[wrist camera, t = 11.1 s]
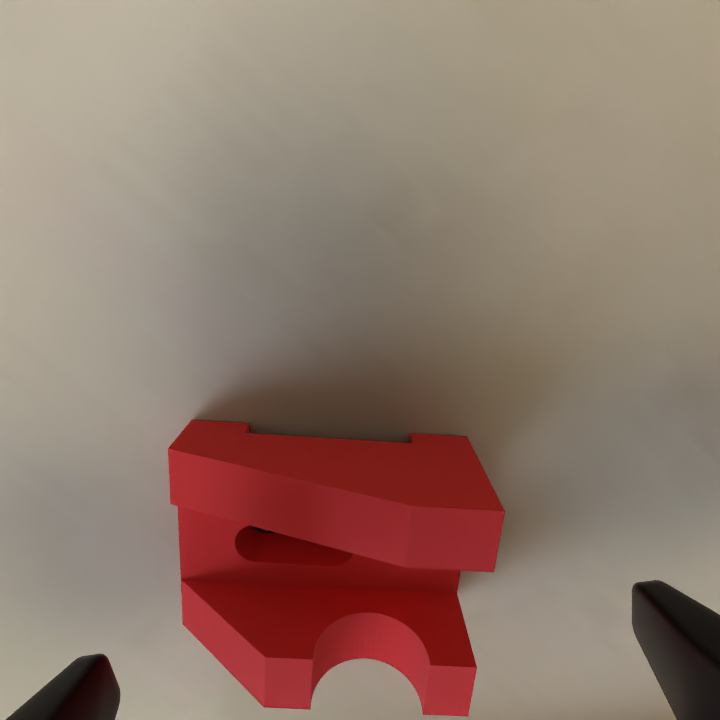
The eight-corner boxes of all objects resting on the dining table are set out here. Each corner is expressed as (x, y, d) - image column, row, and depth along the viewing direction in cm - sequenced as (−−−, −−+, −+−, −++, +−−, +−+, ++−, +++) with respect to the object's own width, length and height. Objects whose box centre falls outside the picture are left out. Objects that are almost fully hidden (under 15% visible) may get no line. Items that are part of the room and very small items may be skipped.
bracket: (466, 436, 11) (504, 511, 8) (442, 603, 13) (467, 716, 10) (191, 419, 11) (134, 490, 8) (197, 590, 12) (149, 701, 10)
